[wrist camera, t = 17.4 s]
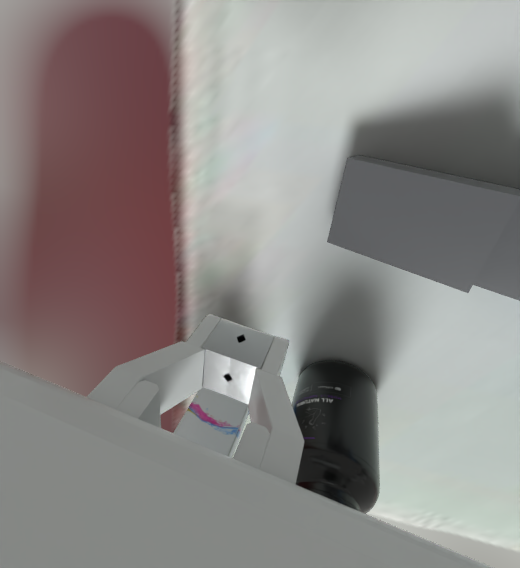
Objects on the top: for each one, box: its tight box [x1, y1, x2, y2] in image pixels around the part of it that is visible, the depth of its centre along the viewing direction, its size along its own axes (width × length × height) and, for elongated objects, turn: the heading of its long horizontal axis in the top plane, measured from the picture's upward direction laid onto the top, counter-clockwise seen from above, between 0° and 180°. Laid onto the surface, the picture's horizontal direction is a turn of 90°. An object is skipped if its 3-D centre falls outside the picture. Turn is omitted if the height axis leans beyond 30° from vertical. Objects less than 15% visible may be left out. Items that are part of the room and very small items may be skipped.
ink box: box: [173, 387, 249, 458], centre depth 28 cm, size 8×5×12 cm, turn 167°
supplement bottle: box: [292, 360, 380, 514], centre depth 23 cm, size 7×7×12 cm
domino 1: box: [327, 155, 520, 293], centre depth 17 cm, size 2×5×8 cm
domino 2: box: [464, 177, 520, 300], centre depth 16 cm, size 2×5×8 cm
